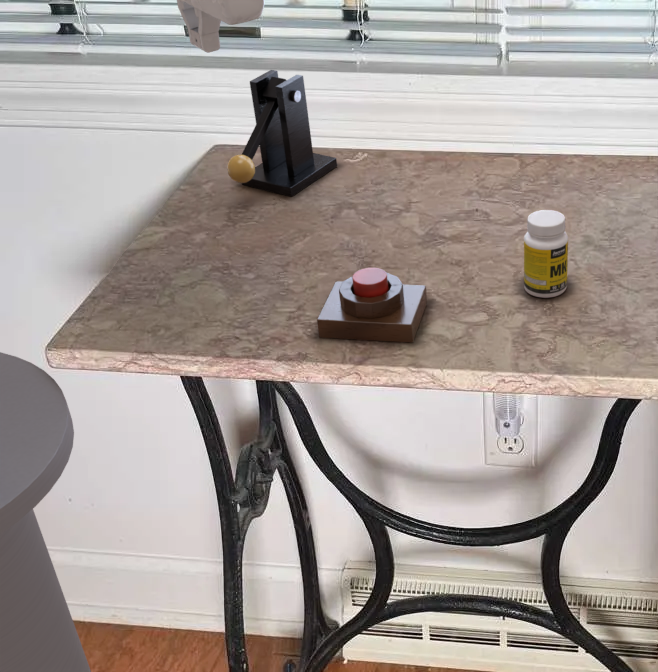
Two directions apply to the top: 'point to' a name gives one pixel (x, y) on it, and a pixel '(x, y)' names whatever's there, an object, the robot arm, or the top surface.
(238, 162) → the lever
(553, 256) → the supplement bottle
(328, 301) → the button block
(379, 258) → the top surface
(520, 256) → the top surface
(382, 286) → the button
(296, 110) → the bracket
